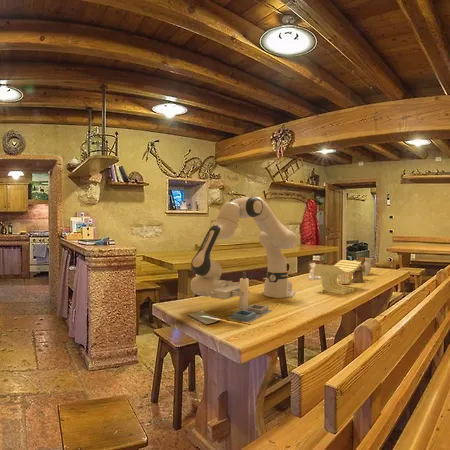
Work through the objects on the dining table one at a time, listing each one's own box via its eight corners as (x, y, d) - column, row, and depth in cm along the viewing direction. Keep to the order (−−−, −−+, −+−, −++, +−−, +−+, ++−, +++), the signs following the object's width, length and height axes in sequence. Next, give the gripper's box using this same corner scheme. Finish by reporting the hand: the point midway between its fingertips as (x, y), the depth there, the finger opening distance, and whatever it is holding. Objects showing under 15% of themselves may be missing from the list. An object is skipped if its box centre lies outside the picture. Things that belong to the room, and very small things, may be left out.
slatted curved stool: (337, 285, 251) (338, 259, 250) (360, 289, 239) (361, 261, 239) (313, 291, 230) (314, 263, 229) (337, 296, 218) (337, 266, 218)
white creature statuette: (309, 280, 269) (309, 263, 268) (304, 278, 277) (305, 262, 277) (321, 279, 270) (321, 263, 270) (316, 277, 279) (316, 261, 278)
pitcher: (354, 272, 306) (354, 255, 305) (376, 275, 293) (376, 258, 293) (348, 274, 298) (348, 256, 297) (370, 277, 285) (371, 259, 285)
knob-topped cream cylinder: (242, 307, 172) (242, 270, 171) (249, 309, 170) (250, 271, 169) (237, 309, 168) (238, 271, 168) (245, 311, 166) (246, 272, 166)
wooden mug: (367, 281, 268) (368, 256, 268) (360, 283, 258) (361, 258, 257) (355, 279, 274) (356, 255, 274) (348, 281, 264) (349, 256, 263)
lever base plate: (251, 308, 188) (251, 302, 188) (273, 312, 182) (273, 306, 182) (226, 320, 168) (226, 313, 168) (249, 324, 161) (249, 318, 161)
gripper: (207, 286, 167) (234, 290, 159) (231, 279, 184) (256, 283, 177) (207, 300, 167) (233, 304, 160) (231, 292, 184) (255, 296, 177)
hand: (245, 293), depth 168 cm, fingers closed on knob-topped cream cylinder, 4 cm apart
